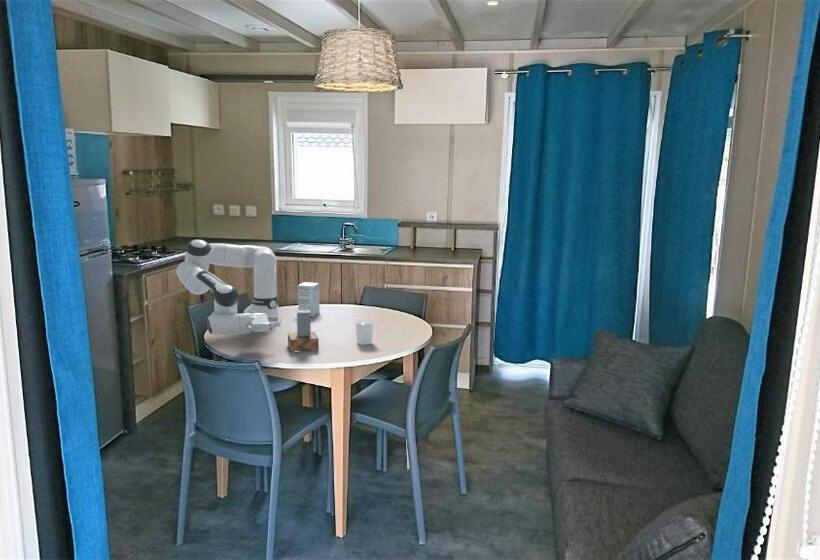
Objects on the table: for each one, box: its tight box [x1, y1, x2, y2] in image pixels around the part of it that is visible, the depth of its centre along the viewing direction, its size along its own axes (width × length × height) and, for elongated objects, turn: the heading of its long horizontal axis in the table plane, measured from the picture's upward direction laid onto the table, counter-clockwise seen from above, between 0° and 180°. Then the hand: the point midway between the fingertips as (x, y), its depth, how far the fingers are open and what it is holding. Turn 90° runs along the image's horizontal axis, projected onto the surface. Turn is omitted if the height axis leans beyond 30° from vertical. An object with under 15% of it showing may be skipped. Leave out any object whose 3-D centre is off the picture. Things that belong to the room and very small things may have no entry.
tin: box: [296, 309, 312, 337], centre depth 284 cm, size 6×6×11 cm
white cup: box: [355, 319, 374, 346], centre depth 294 cm, size 8×8×10 cm
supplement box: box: [297, 281, 321, 317], centre depth 348 cm, size 10×9×17 cm
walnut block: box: [287, 331, 320, 353], centre depth 285 cm, size 12×12×6 cm
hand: (278, 321), depth 280 cm, fingers open, 8 cm apart
